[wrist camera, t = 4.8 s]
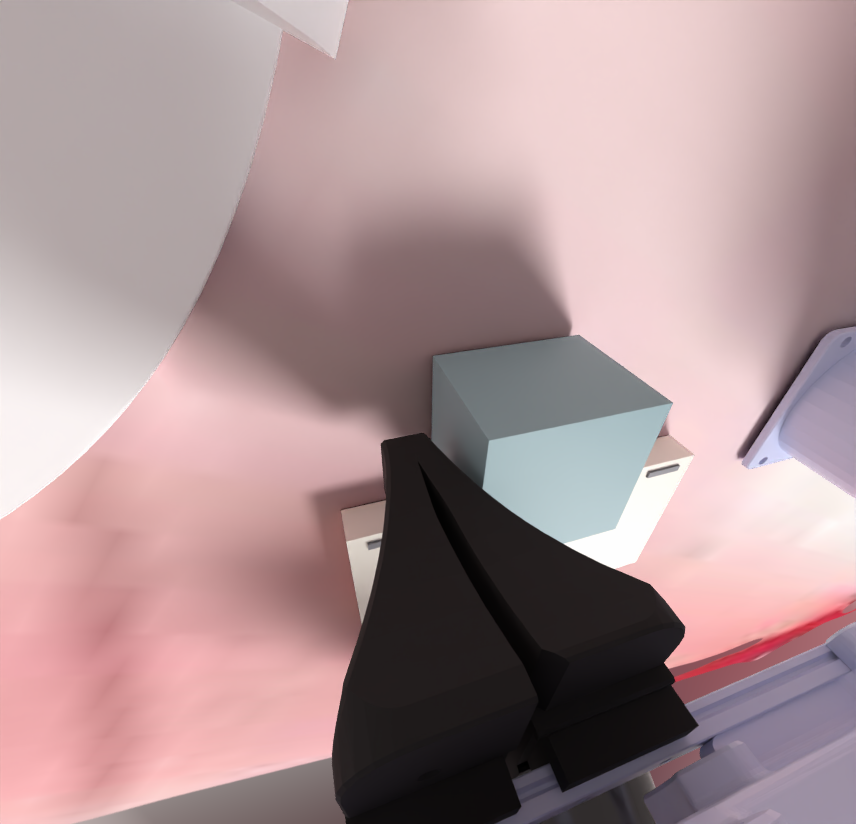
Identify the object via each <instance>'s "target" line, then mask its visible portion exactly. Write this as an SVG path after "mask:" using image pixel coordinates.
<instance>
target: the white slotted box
mask: <svg viewBox="0 0 856 824" xmlns="http://www.w3.org/2000/svg"><path fill="white" fill-rule="evenodd" d="M693 457H694V454H693V453H691V452H690V451H689V450H688V449H687V448H685V447H684V446H683V445H682V444H680V443H679V442H678V441H677V440H675V439H674V438H673V437H672V436H670V435H668V436H664V437H659V438H657V439H656V441H655V443H654V446H653V448H652V450H651V452H650V454H649V456H648V459H647V461H646V463H645V465H644V467H643V470H642V472H641V474H640V476H639V478H638V480H637V483H636V485H635V487H634V489H633V491H632V494H631V496H630V498H629V500H628V502H627V504H626V507H625V509H624V511H623V513H622V515H621V518H620V520H619V522H618V524H617V526H616V528H615V529H613V530H610V531H606V532H603V533H599V534H596V535H592V536H589V537H585V538H582V539H579V540H575V541H572V542H568V543H565V545H567V546H568V547H570V548H572V549H574V550H576V551H578V552H580V553H582V554H584V555H586V556H588V557H590V558H592V559H594V560H596V561H598V562H600V563H602V564H604V565H606V566H608V567H611V568H613V569H615V568H618V567H621V566H625V565H628V564H631V563H634V562H636V560H637V559H638V557H639V555H640V553H641V551H642V550H643V548H644V546H645V544H646V542H647V540H648V539H649V537H650V535H651V533H652V531H653V530H654V528H655V526H656V524H657V522H658V520H659V519H660V517H661V515H662V513H663V511H664V510H665V508H666V506H667V504H668V502H669V500H670V499H671V497H672V495H673V493H674V491H675V490H676V488H677V486H678V484H679V482H680V480H681V479H682V477H683V475H684V473H685V471H686V470H687V468H688V466H689V464H690V462H691V460H692V459H693ZM385 505H386V500H384V501H380V502H376V503H371V504H367V505H362V506H358V507H354V508H349V509H345V510H341V514H342V520H343V526H344V532H345V538H346V543H347V549H348V554H349V560H350V565H351V570H352V576H353V581H354V586H355V592H356V597H357V602H358V608H359V613H360V619H361V624H362V623H363V619H364V616H365V612H366V609H367V605H368V601H369V598H370V594H371V590H372V585H373V581H374V577H375V572H376V567H377V562H378V557H379V552H380V546H381V540H382V533H383V526H384V516H385Z"/></svg>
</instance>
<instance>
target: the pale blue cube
mask: <svg viewBox="0 0 856 824" xmlns="http://www.w3.org/2000/svg"><path fill="white" fill-rule="evenodd" d="M672 404H673V403H672V402H671V401H670V400H668V399H667V398H666V397H664V396H663V395H661V394H660V393H659V392H657V391H656V390H654V389H653V388H652V387H650V386H649V385H648V384H646V383H645V382H643V381H642V380H641V379H639V378H638V377H637V376H635V375H634V374H632V373H631V372H630V371H628V370H627V369H625V368H624V367H623V366H621V365H620V364H619V363H617V362H616V361H614V360H613V359H612V358H610V357H609V356H607V355H606V354H605V353H603V352H602V351H601V350H599V349H598V348H596V347H595V346H594V345H592V344H591V343H590V342H588V341H587V340H585V339H584V338H583V337H581V336H580V335H575V336H568V337H561V338H554V339H547V340H540V341H533V342H526V343H519V344H512V345H505V346H498V347H491V348H484V349H477V350H470V351H463V352H456V353H449V354H442V355H435V356H433V378H432V434H431V441H432V442H433V443H434V444H435V445H436V446H437V447H438V448H439V449H440V450H441V451H442V452H443V453H444V454H445V455H446V456H447V457H448V458H449V459H450V460H451V461H452V462H453V463H454V464H455V465H456V466H457V467H458V468H459V469H460V470H462V471H463V472H464V473H465V474H466V475H467V476H468V477H469V478H470V479H472V480H473V481H474V482H475V483H476V484H477V485H478V486H480V487H481V488H482V489H483V490H484V491H486V492H487V493H488V494H489V495H491V496H492V497H493V498H494V499H496V500H497V501H498V502H500V503H501V504H502V505H503V506H505V507H506V508H508V509H509V510H510V511H512V512H513V513H515V514H516V515H517V516H519V517H520V518H522V519H523V520H525V521H526V522H528V523H529V524H531V525H533V526H534V527H536V528H537V529H539V530H540V531H542V532H544V533H545V534H547V535H549V536H551V537H553V538H554V539H556V540H558V541H560V542H561V543H563V544H565V543H568V542H572V541H575V540H579V539H582V538H585V537H589V536H592V535H596V534H599V533H603V532H606V531H610V530H613V529H615V528H616V526H617V524H618V522H619V520H620V518H621V515H622V513H623V511H624V509H625V507H626V504H627V502H628V500H629V498H630V496H631V494H632V491H633V489H634V487H635V485H636V483H637V480H638V478H639V476H640V474H641V472H642V470H643V467H644V465H645V463H646V461H647V459H648V456H649V454H650V452H651V450H652V448H653V446H654V443H655V441H656V439H657V437H658V435H659V432H660V430H661V428H662V426H663V424H664V422H665V419H666V417H667V415H668V413H669V411H670V408H671V406H672Z"/></svg>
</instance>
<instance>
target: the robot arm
mask: <svg viewBox="0 0 856 824" xmlns="http://www.w3.org/2000/svg"><path fill="white" fill-rule="evenodd" d="M381 453H382V466H383V478H384V489H385V493H386V505H385V516H384V526H383V533H382V540H381V546H380V552H379V557H378V562H377V567H376V572H375V577H374V581H373V585H372V590H371V594H370V598H369V601H368V605H367V609H366V612H365V616H364V619H363V623H362V627H361V630H360V633H359V637H358V640H357V643H356V646H355V649H354V652H353V655H352V658H351V661H350V664H349V667H348V670H347V673H346V676H345V679H344V682H343V689H342V695H341V701H340V706H339V711H338V716H337V722H336V727H335V734H334V741H333V750H332V767H333V778H334V787H335V797H336V801H337V803H338V804H339V806H340V808H341V810H342V811H343V813H344V815H345V819H346V824H539V823H541V822H543V821H545V820H547V819H549V818H551V817H553V816H556V815H558V814H560V813H562V812H564V811H566V810H568V809H570V808H572V807H575V806H577V805H579V804H581V803H583V802H585V801H587V800H589V799H591V798H594V797H596V796H598V795H600V794H602V793H604V792H606V791H608V790H610V789H613V788H615V787H617V786H619V785H621V784H623V783H625V782H627V781H630V780H632V779H634V778H636V777H638V776H640V775H642V774H644V773H646V772H649V771H651V770H653V769H655V768H657V767H659V766H661V765H663V764H665V763H667V762H670V761H671V760H674V759H676V758H678V757H680V756H682V755H684V754H686V753H688V752H691V751H693V750H695V749H697V748H699V747H701V746H702V747H701V748H700V757H701V759H700V760H698V761H697V762H695V763H693V764H691V765H689V766H687V767H686V768H684V769H682V770H680V771H678V772H677V773H675V774H674V775H673V776H672V777H671V778H670V779H669V780H667V781H666V782H664V783H663V784H662V785H660V786H658V787H657V788H655V789H654V790H652V791H650V792H649V793H647V794H646V795H644V803H645V804H646V806H647V808H648V810H649V812H650V814H651V816H652V817H653V819H654V821H655V823H656V824H856V622H854V623H852V624H849V625H847V626H846V627H844V628H842V629H841V630H839V631H838V632H836V633H835V634H833V635H832V636H831V637H830V638H829V639H827V640H826V643H825V644H822V645H820V646H818V647H815V648H813V649H811V650H808V651H806V652H804V653H802V654H799V655H797V656H795V657H792V658H790V659H788V660H786V661H783V662H781V663H779V664H776V665H774V666H772V667H770V668H767V669H765V670H763V671H760V672H758V673H756V674H754V675H751V676H749V677H747V678H744V679H742V680H740V681H737V682H735V683H733V684H730V685H728V686H726V687H723V688H721V689H719V690H717V691H714V692H712V693H710V694H707V695H705V696H703V697H701V698H698V699H696V700H694V701H691V702H689V703H687V704H684V703H683V702H682V700H681V699H680V698H679V696H678V695H677V693H676V692H675V690H674V689H673V687H672V686H671V685H672V684H673V683H674V682H675V679H674V676H673V675H672V674H671V672H670V671H669V669H668V668H667V666H666V665H665V664H664V662H665V660H666V659H667V658H668V657H669V656H670V655H671V653H672V652H673V651H674V650H675V649H676V647H677V646H678V645H679V644H680V642H681V641H682V639H683V638H684V634H685V626H684V625H683V623H682V622H681V621H680V620H679V618H678V617H677V616H676V614H675V613H674V612H673V610H672V609H671V608H670V607H669V605H668V604H667V603H666V601H665V600H664V599H663V598H662V597H661V596H660V595H659V594H658V593H657V591H656V590H655V589H654V588H653V587H652V586H651V585H650V584H648V583H646V582H643V581H641V580H639V579H636V578H634V577H632V576H629V575H627V574H625V573H622V572H620V571H618V570H615V569H613V568H611V567H608V566H606V565H604V564H602V563H600V562H598V561H596V560H594V559H592V558H590V557H588V556H586V555H584V554H582V553H580V552H578V551H576V550H574V549H572V548H570V547H568V546H567V545H565V544H563V543H561V542H560V541H558V540H556V539H554V538H553V537H551V536H549V535H547V534H545V533H544V532H542V531H540V530H539V529H537V528H536V527H534V526H533V525H531V524H529V523H528V522H526V521H525V520H523V519H522V518H520V517H519V516H517V515H516V514H515V513H513V512H512V511H510V510H509V509H508V508H506V507H505V506H503V505H502V504H501V503H500V502H498V501H497V500H496V499H494V498H493V497H492V496H491V495H489V494H488V493H487V492H486V491H484V490H483V489H482V488H481V487H480V486H478V485H477V484H476V483H475V482H474V481H473V480H472V479H470V478H469V477H468V476H467V475H466V474H465V473H464V472H463V471H462V470H460V469H459V468H458V467H457V466H456V465H455V464H454V463H453V462H452V461H451V460H450V459H449V458H448V457H447V456H446V455H445V454H444V453H443V452H442V451H441V450H440V449H439V448H438V447H437V446H436V445H435V444H434V443H433V442H432V441H431V440H430V438H429V437H428V436H427V435H425V434H424V433H420V434H415V435H410V436H404V437H399V438H394V439H389V440H384V441H383V442H382V443H381ZM790 458H795V459H796V460H798V461H799V462H801V463H803V464H804V465H806V466H807V467H809V468H810V469H812V470H813V471H815V472H816V473H818V474H819V475H821V476H822V477H824V478H825V479H827V480H828V481H830V482H831V483H833V484H834V485H836V486H837V487H839V488H840V489H842V490H843V491H845V492H846V493H848V494H849V495H851V496H852V497H854V498H855V499H856V326H854V327H848V328H842V329H837V330H833V331H831V332H829V333H828V334H826V335H825V336H824V337H823V339H822V340H821V341H820V343H819V344H818V346H817V347H816V349H815V350H814V352H813V353H812V355H811V356H810V358H809V359H808V361H807V362H806V364H805V366H804V367H803V369H802V370H801V372H800V373H799V375H798V376H797V378H796V379H795V381H794V382H793V384H792V385H791V387H790V388H789V390H788V391H787V393H786V395H785V396H784V398H783V399H782V401H781V402H780V404H779V405H778V407H777V408H776V410H775V411H774V413H773V414H772V416H771V417H770V419H769V421H768V422H767V424H766V425H765V427H764V428H763V430H762V431H761V433H760V434H759V436H758V437H757V439H756V440H755V442H754V443H753V445H752V447H751V448H750V450H749V451H748V453H747V454H746V456H745V457H744V459H743V461H742V465H744V466H745V467H746V468H748V469H753V468H757V467H761V466H764V465H768V464H772V463H775V462H779V461H783V460H786V459H790Z"/></svg>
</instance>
